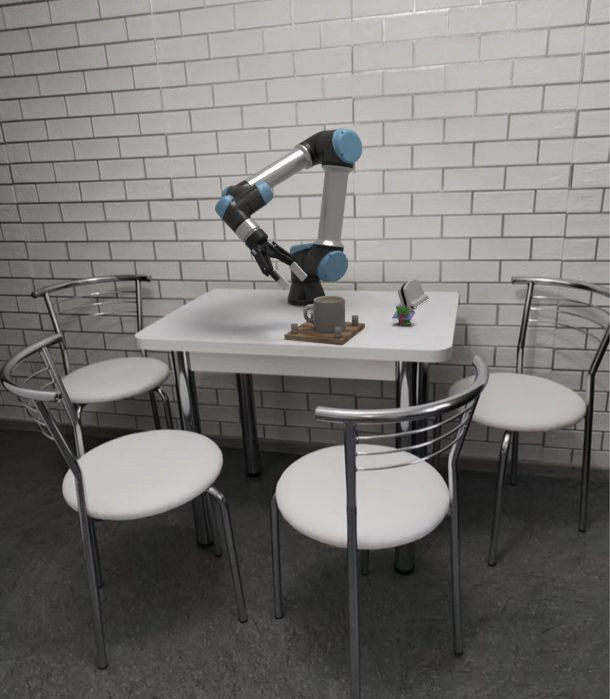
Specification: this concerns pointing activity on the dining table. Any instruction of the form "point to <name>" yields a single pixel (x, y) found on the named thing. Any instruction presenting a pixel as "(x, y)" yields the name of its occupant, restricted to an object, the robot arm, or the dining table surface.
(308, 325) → the standoff board
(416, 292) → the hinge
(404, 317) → the geometric puzzle
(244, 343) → the dining table surface
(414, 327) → the dining table surface
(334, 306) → the coffee mug
